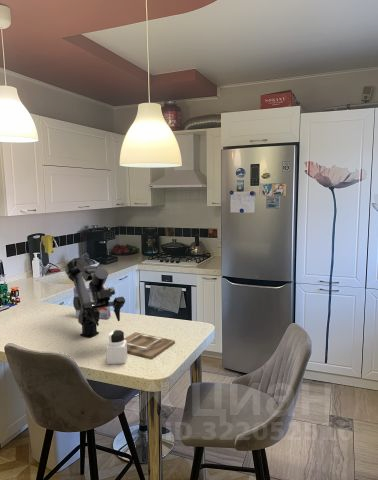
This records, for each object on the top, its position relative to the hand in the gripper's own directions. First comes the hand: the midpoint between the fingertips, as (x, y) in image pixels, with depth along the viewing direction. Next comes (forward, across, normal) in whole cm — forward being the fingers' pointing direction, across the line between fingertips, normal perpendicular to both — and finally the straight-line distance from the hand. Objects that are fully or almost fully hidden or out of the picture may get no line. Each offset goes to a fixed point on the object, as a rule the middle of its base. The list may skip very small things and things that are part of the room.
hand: (108, 323), depth 159 cm
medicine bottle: (+15, 0, +4) cm, 16 cm away
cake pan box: (-25, +9, +44) cm, 51 cm away
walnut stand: (+10, +15, +9) cm, 20 cm away
